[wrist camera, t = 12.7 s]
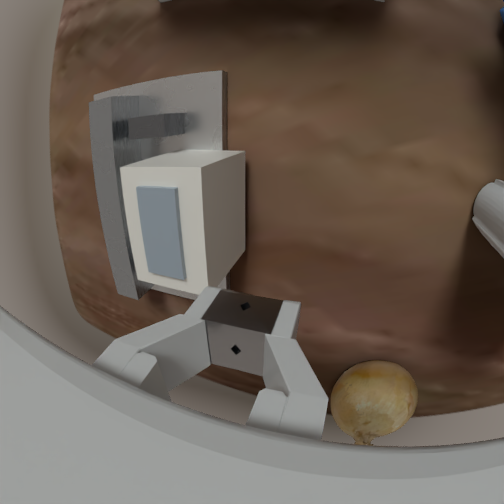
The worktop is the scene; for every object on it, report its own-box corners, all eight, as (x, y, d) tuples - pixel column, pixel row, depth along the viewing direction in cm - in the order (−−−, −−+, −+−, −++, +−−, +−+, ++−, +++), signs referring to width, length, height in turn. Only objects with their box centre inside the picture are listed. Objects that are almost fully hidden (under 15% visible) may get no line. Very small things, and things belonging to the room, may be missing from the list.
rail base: (227, 72, 16) (199, 63, 13) (230, 302, 24) (212, 330, 21) (100, 94, 19) (67, 97, 16) (123, 276, 28) (100, 295, 24)
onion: (321, 360, 24) (306, 424, 18) (404, 334, 20) (411, 404, 14) (350, 405, 26) (341, 462, 20) (421, 387, 22) (425, 447, 16)
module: (245, 151, 17) (197, 168, 12) (245, 250, 21) (206, 300, 15) (177, 150, 19) (116, 168, 13) (184, 240, 22) (135, 282, 17)
